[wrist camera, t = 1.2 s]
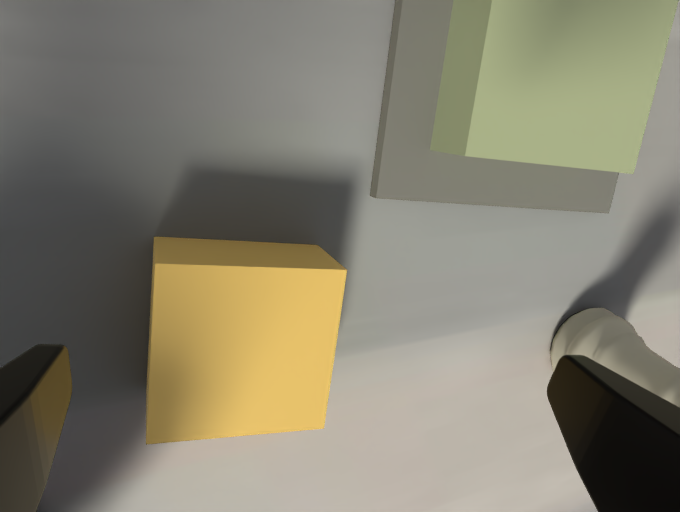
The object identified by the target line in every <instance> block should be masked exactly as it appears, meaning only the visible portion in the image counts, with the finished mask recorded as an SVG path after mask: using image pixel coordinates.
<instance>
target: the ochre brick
mask: <svg viewBox="0 0 680 512" xmlns="http://www.w3.org/2000/svg"><path fill="white" fill-rule="evenodd" d="M346 274H347V269H345V268H344V267H343V266H342V265H341V264H339V263H338V262H337V261H336V260H335V259H334V258H332V257H331V256H330V255H329V254H328V253H326V252H325V251H324V250H323V249H322V248H321V247H319V246H318V245H309V244H289V243H270V242H251V241H231V240H212V239H193V238H173V237H154V246H153V266H152V287H151V307H150V327H149V348H148V368H147V388H146V444H156V443H167V442H178V441H189V440H201V439H212V438H223V437H234V436H245V435H256V434H268V433H279V432H290V431H301V430H312V429H323V428H324V424H325V417H326V410H327V403H328V397H329V390H330V383H331V376H332V369H333V363H334V356H335V349H336V342H337V335H338V329H339V322H340V315H341V308H342V301H343V295H344V288H345V281H346Z"/></svg>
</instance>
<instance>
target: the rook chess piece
mask: <svg viewBox="0 0 680 512" xmlns="http://www.w3.org/2000/svg"><path fill="white" fill-rule="evenodd" d="M563 355H584V356H586V357H588V358H590V359H592V360H594V361H596V362H597V363H599V364H601V365H603V366H605V367H607V368H608V369H610V370H612V371H614V372H616V373H617V374H619V375H621V376H623V377H625V378H627V379H628V380H630V381H632V382H634V383H636V384H638V385H639V386H641V387H643V388H645V389H647V390H649V391H650V392H652V393H654V394H656V395H658V396H660V397H661V398H663V399H665V400H667V401H669V402H671V403H672V404H674V405H676V406H678V407H680V368H678V367H676V366H674V365H672V364H671V363H670V362H668V361H667V360H665V359H664V358H662V357H661V356H659V355H658V354H656V353H655V352H653V351H652V350H651V349H650V348H648V347H647V346H646V344H645V343H644V341H643V339H642V337H640V336H638V334H637V333H636V331H635V329H634V327H633V326H632V325H631V324H630V323H629V322H628V321H626V320H625V319H623V318H621V317H619V316H615V315H614V313H612V312H610V311H609V310H607V309H605V308H590V309H586V310H583V311H581V312H579V313H577V314H575V315H573V316H571V317H570V318H569V319H567V320H566V321H565V322H564V323H563V324H562V325H561V326H560V328H559V330H558V332H557V333H556V335H555V337H554V339H553V342H552V346H551V351H550V356H551V364H552V368H553V372H554V370H555V367H556V365H557V363H558V361H559V359H560V358H561V357H562V356H563Z"/></svg>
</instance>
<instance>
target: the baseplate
mask: <svg viewBox="0 0 680 512" xmlns="http://www.w3.org/2000/svg"><path fill="white" fill-rule="evenodd" d="M678 1H679V0H396V1H395V8H394V16H393V24H392V31H391V39H390V47H389V54H388V62H387V69H386V77H385V85H384V92H383V100H382V108H381V115H380V123H379V130H378V138H377V146H376V153H375V161H374V169H373V176H372V184H371V192H370V196H372V197H374V198H380V199H395V200H410V201H426V202H441V203H456V204H472V205H487V206H503V207H518V208H533V209H549V210H564V211H579V212H595V213H609V211H610V207H611V203H612V199H613V195H614V191H615V187H616V183H617V179H618V175H619V172H620V173H629V174H633V173H634V170H635V166H636V162H637V158H638V154H639V150H640V147H641V143H642V139H643V135H644V131H645V127H646V123H647V120H648V116H649V112H650V108H651V104H652V100H653V97H654V93H655V89H656V85H657V81H658V77H659V74H660V70H661V66H662V62H663V58H664V54H665V50H666V47H667V43H668V39H669V35H670V31H671V27H672V24H673V20H674V16H675V12H676V8H677V4H678Z"/></svg>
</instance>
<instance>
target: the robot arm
mask: <svg viewBox="0 0 680 512" xmlns="http://www.w3.org/2000/svg"><path fill="white" fill-rule="evenodd" d="M71 394H72V379H71V370H70V362H69V354H68V350H67V348H66V347H65V346H64V345H61V344H38V345H36V346H34V347H32V348H31V349H29V350H28V351H26V352H25V353H23V354H21V355H20V356H18V357H17V358H15V359H14V360H12V361H11V362H9V363H7V364H6V365H4V366H3V367H1V368H0V512H37V507H38V504H39V502H40V499H41V497H42V494H43V491H44V489H45V486H46V483H47V480H48V476H49V473H50V470H51V466H52V463H53V459H54V456H55V452H56V448H57V445H58V441H59V438H60V434H61V431H62V427H63V424H64V420H65V417H66V413H67V410H68V406H69V403H70V399H71ZM547 396H548V400H549V402H550V405H551V407H552V410H553V412H554V415H555V417H556V420H557V422H558V425H559V427H560V430H561V432H562V435H563V437H564V440H565V442H566V445H567V447H568V450H569V452H570V455H571V457H572V460H573V462H574V464H575V467H576V469H577V471H578V473H579V475H580V477H581V479H582V481H583V483H584V485H585V487H586V489H587V491H588V493H589V495H590V497H591V499H592V501H593V503H594V505H595V507H596V509H597V511H598V512H680V407H678V406H676V405H674V404H672V403H671V402H669V401H667V400H665V399H663V398H661V397H660V396H658V395H656V394H654V393H652V392H650V391H649V390H647V389H645V388H643V387H641V386H639V385H638V384H636V383H634V382H632V381H630V380H628V379H627V378H625V377H623V376H621V375H619V374H617V373H616V372H614V371H612V370H610V369H608V368H607V367H605V366H603V365H601V364H599V363H597V362H596V361H594V360H592V359H590V358H588V357H586V356H584V355H563V356H562V357H561V358H560V359H559V361H558V363H557V365H556V367H555V370H554V372H553V374H552V377H551V379H550V381H549V384H548V387H547Z"/></svg>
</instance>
